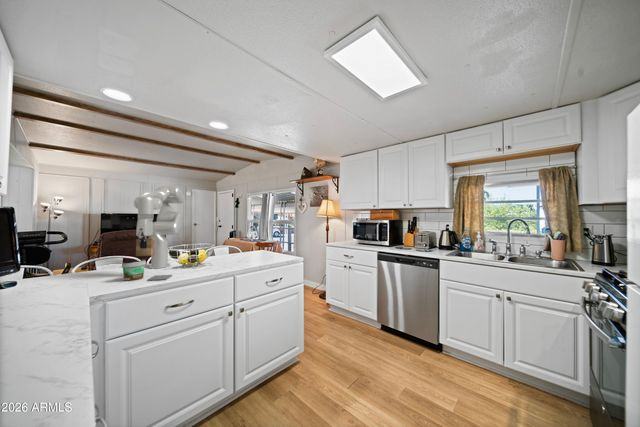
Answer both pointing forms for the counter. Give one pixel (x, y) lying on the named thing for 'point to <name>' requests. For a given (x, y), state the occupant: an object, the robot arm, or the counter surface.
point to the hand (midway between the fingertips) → (145, 247)
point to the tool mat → (159, 277)
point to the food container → (133, 270)
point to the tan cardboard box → (145, 251)
